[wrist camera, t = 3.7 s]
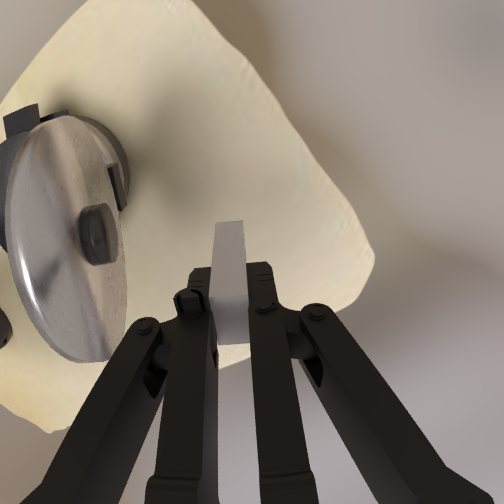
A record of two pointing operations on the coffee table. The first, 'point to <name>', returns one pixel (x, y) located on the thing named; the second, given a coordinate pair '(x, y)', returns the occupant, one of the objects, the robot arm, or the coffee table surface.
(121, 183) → the cooker
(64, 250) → the lid
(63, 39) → the coffee table surface
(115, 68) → the coffee table surface
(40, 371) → the coffee table surface
